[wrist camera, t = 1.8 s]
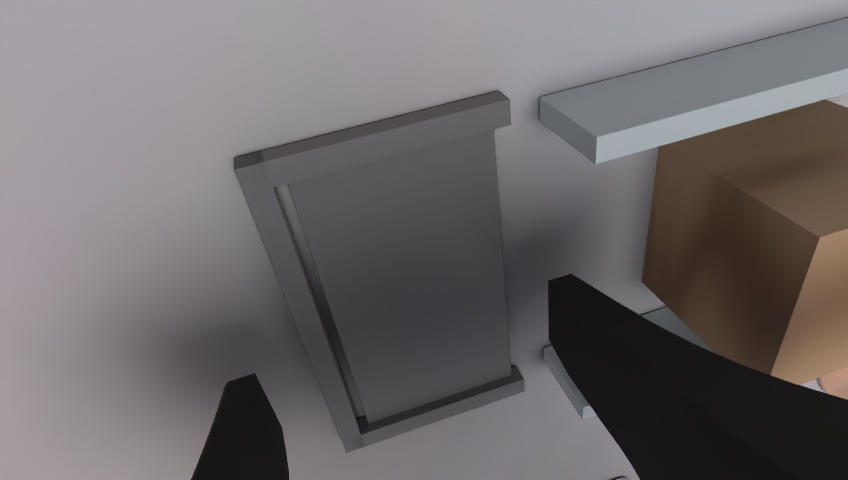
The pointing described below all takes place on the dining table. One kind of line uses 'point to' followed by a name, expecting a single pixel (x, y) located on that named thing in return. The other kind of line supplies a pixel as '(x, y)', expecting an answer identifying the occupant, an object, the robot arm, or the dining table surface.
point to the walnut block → (758, 240)
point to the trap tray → (396, 262)
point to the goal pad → (836, 383)
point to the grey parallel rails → (694, 114)
